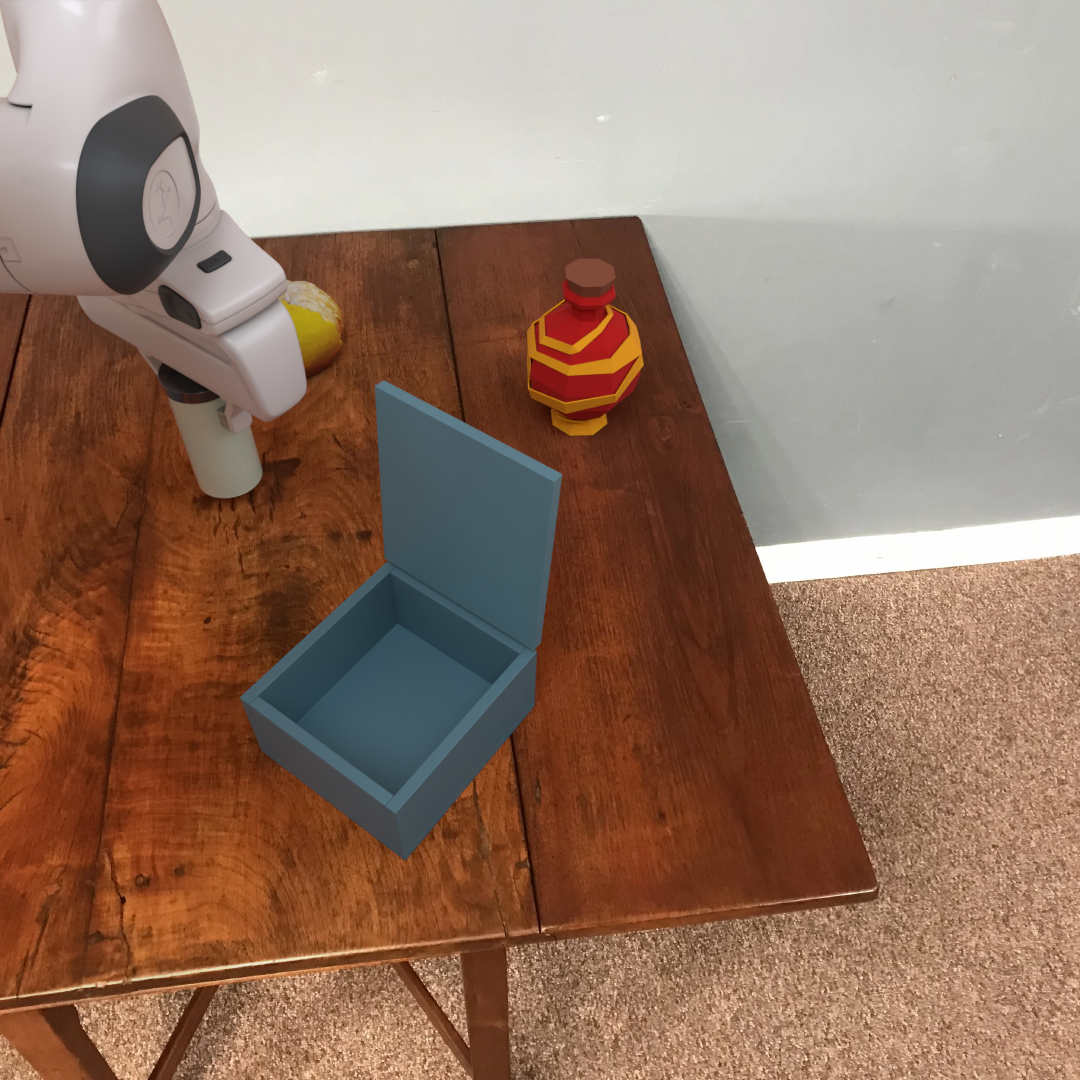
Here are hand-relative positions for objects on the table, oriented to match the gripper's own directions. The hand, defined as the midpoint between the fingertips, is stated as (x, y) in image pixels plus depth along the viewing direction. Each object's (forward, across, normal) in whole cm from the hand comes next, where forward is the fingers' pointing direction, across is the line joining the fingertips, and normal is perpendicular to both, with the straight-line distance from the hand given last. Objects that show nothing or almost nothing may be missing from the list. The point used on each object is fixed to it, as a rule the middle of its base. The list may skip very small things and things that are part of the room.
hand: (208, 408), depth 71 cm
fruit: (+9, -9, +16) cm, 21 cm away
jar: (+7, 0, 0) cm, 7 cm away
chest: (+9, +26, -9) cm, 29 cm away
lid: (-6, +26, -2) cm, 26 cm away
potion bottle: (+9, +18, +25) cm, 32 cm away
